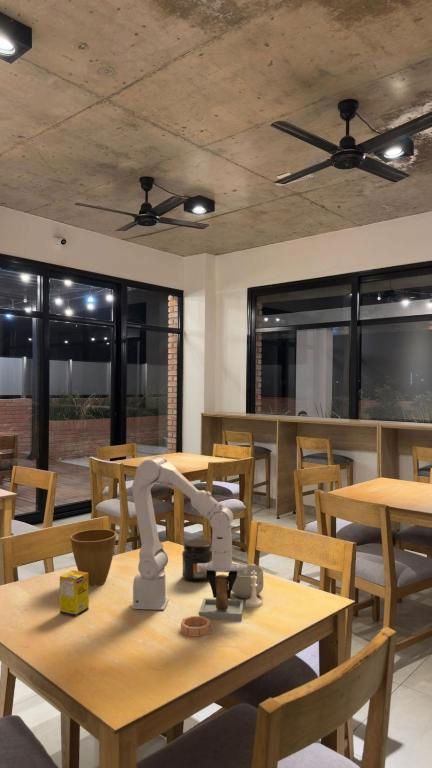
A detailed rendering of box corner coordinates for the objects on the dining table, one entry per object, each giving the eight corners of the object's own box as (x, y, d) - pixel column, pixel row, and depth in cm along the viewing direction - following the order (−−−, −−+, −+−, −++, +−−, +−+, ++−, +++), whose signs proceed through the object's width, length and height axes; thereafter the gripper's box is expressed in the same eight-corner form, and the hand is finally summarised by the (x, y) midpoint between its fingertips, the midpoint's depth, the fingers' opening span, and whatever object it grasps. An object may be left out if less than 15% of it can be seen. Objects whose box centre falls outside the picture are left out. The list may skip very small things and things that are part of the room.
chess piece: (261, 607, 161) (261, 573, 161) (244, 606, 162) (244, 572, 162) (263, 601, 166) (263, 568, 166) (247, 599, 167) (247, 567, 167)
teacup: (253, 604, 163) (253, 578, 163) (222, 597, 169) (222, 571, 169) (273, 589, 175) (273, 564, 175) (244, 583, 181) (244, 559, 181)
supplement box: (89, 609, 160) (89, 572, 160) (76, 617, 154) (75, 578, 154) (72, 606, 162) (72, 569, 162) (59, 613, 157) (59, 575, 157)
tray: (199, 618, 154) (199, 612, 154) (203, 604, 163) (203, 598, 163) (241, 620, 152) (241, 613, 152) (243, 605, 162) (243, 599, 162)
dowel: (214, 609, 156) (214, 578, 156) (217, 604, 160) (217, 574, 160) (227, 610, 156) (226, 579, 155) (229, 605, 159) (229, 574, 159)
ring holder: (179, 635, 143) (179, 627, 143) (184, 622, 151) (184, 615, 151) (208, 636, 142) (208, 629, 142) (211, 624, 150) (211, 616, 150)
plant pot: (99, 571, 192) (99, 526, 192) (125, 582, 182) (125, 534, 182) (62, 582, 181) (61, 534, 181) (86, 594, 171) (86, 543, 171)
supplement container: (216, 581, 182) (216, 546, 182) (185, 584, 180) (185, 548, 180) (209, 571, 192) (209, 537, 192) (179, 573, 190) (179, 539, 190)
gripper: (195, 553, 155) (195, 601, 155) (246, 555, 153) (246, 603, 153) (198, 546, 162) (198, 591, 162) (247, 547, 160) (247, 593, 160)
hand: (222, 596), depth 158 cm, fingers closed on dowel, 4 cm apart
